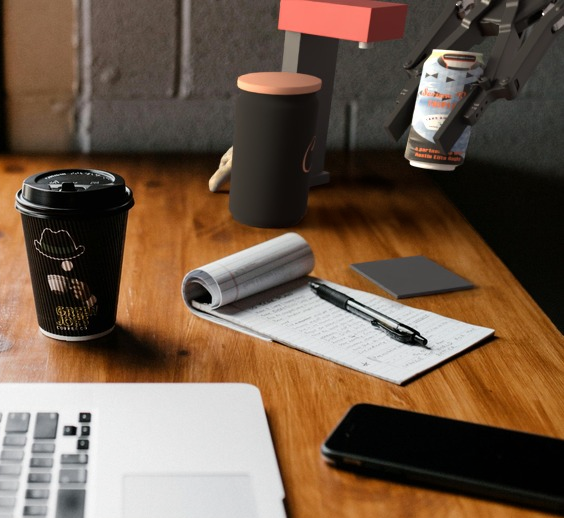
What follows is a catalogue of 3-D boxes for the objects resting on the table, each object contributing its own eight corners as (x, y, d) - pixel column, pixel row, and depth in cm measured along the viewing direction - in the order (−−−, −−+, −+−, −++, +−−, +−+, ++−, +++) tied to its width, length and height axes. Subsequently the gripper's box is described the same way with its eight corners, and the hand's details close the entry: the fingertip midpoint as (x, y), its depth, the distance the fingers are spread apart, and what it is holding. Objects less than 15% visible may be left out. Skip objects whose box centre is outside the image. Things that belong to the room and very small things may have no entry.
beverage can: (400, 174, 91) (422, 52, 85) (405, 157, 97) (425, 42, 91) (463, 180, 89) (490, 56, 83) (463, 162, 95) (489, 45, 89)
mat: (420, 257, 105) (421, 254, 105) (473, 288, 97) (474, 284, 97) (349, 267, 103) (349, 264, 103) (397, 298, 95) (397, 295, 95)
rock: (224, 159, 145) (227, 115, 141) (255, 161, 144) (259, 117, 140) (206, 194, 128) (210, 145, 124) (241, 197, 127) (246, 148, 123)
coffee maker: (301, 173, 137) (321, -8, 124) (388, 201, 125) (421, 3, 111) (257, 183, 133) (273, -4, 119) (342, 212, 120) (371, 8, 107)
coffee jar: (312, 230, 114) (330, 87, 105) (231, 229, 114) (242, 86, 105) (298, 205, 123) (313, 71, 114) (224, 205, 123) (233, 71, 114)
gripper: (640, -10, 85) (502, 182, 86) (477, -23, 99) (358, 144, 99) (628, -70, 80) (481, 135, 81) (458, -75, 93) (332, 101, 94)
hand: (414, 140), depth 90 cm, fingers closed on beverage can, 6 cm apart
